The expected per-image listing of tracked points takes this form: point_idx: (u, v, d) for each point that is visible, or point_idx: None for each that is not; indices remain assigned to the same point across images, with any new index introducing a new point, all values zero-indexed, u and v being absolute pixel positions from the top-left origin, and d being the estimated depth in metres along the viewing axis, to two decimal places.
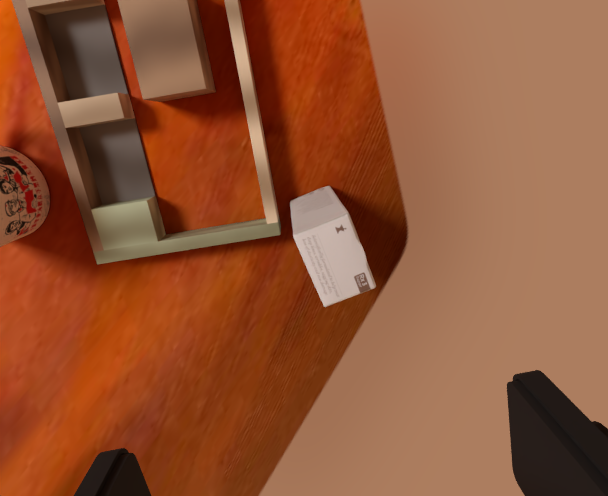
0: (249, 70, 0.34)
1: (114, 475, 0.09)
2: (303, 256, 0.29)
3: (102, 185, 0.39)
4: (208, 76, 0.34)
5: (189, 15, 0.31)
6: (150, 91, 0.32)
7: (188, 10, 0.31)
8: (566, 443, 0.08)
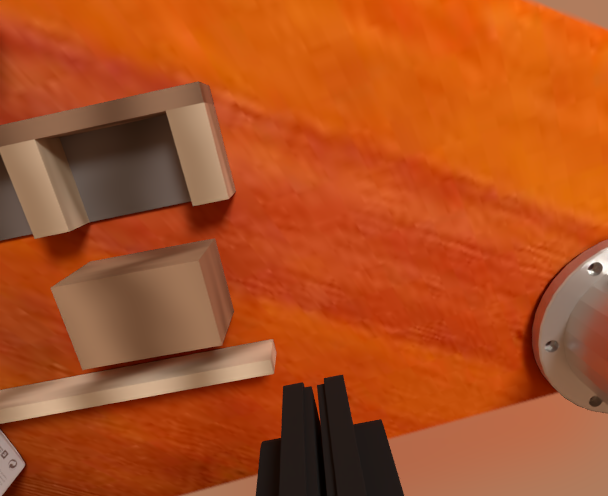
0: (132, 398, 0.26)
1: (308, 401, 0.10)
2: None
3: None
4: None
5: (171, 352, 0.23)
6: (64, 298, 0.22)
7: (177, 351, 0.23)
8: (326, 438, 0.09)
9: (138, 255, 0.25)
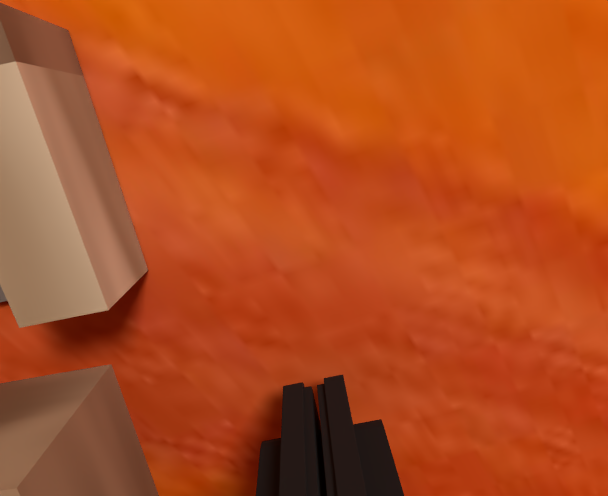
0: None
1: (308, 402, 0.10)
2: None
3: None
4: None
5: None
6: None
7: None
8: (326, 438, 0.09)
9: None
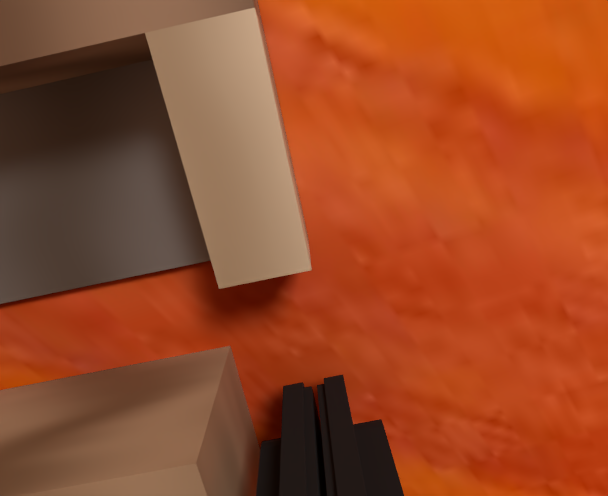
0: None
1: (308, 402, 0.10)
2: None
3: None
4: None
5: None
6: None
7: None
8: (326, 438, 0.09)
9: (64, 391, 0.12)
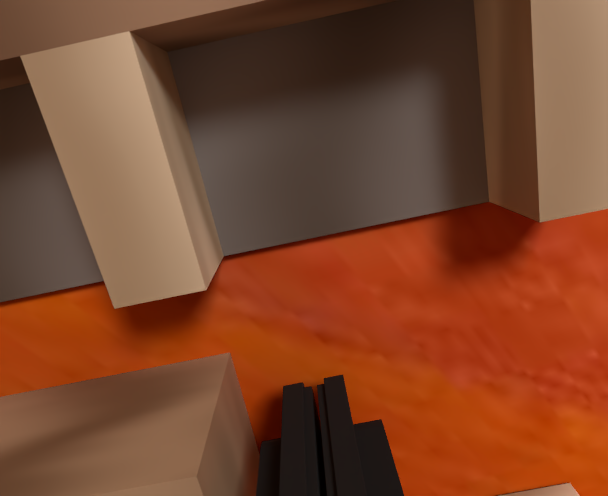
0: None
1: (308, 402, 0.10)
2: None
3: None
4: None
5: None
6: None
7: None
8: (326, 438, 0.09)
9: (63, 399, 0.11)
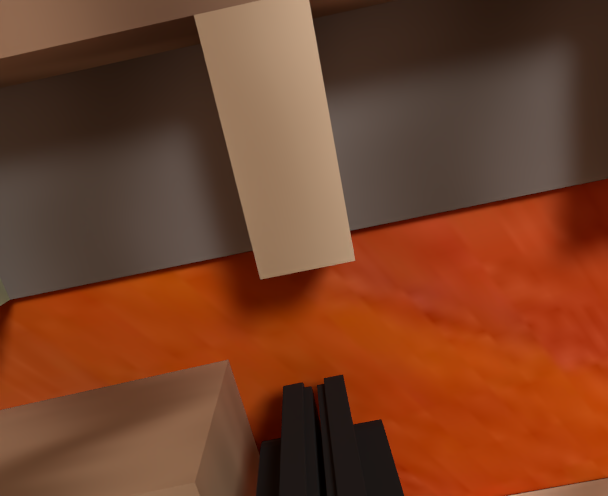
0: None
1: (308, 402, 0.10)
2: None
3: (6, 108, 0.10)
4: None
5: None
6: None
7: None
8: (326, 438, 0.09)
9: (64, 409, 0.12)
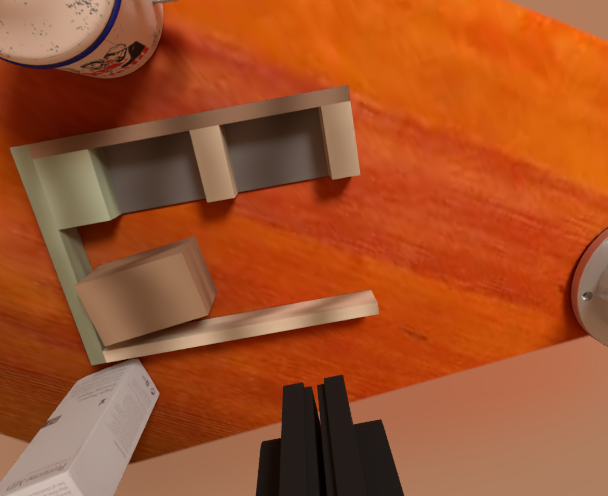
0: (265, 333, 0.33)
1: (308, 402, 0.10)
2: (43, 482, 0.25)
3: (127, 148, 0.31)
4: None
5: (170, 325, 0.30)
6: (84, 293, 0.29)
7: (175, 323, 0.30)
8: (326, 438, 0.09)
9: (136, 255, 0.32)
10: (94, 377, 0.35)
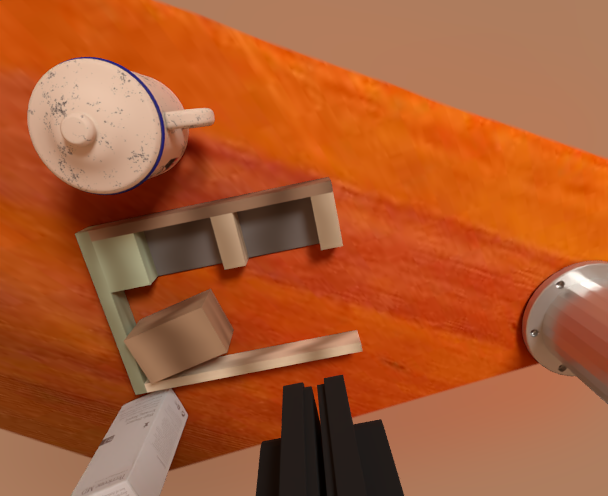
0: (272, 367, 0.41)
1: (308, 402, 0.10)
2: (109, 488, 0.33)
3: (161, 227, 0.39)
4: None
5: (199, 362, 0.39)
6: (132, 345, 0.38)
7: (203, 361, 0.39)
8: (326, 438, 0.09)
9: (167, 309, 0.41)
10: (136, 403, 0.44)
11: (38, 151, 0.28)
